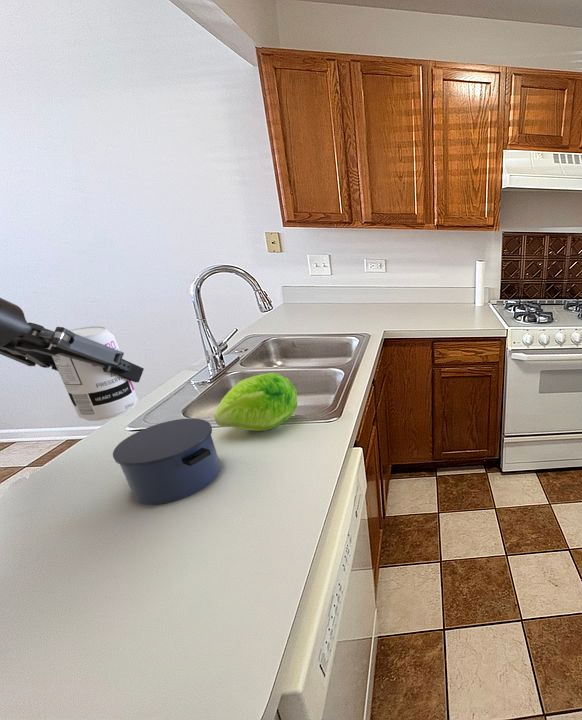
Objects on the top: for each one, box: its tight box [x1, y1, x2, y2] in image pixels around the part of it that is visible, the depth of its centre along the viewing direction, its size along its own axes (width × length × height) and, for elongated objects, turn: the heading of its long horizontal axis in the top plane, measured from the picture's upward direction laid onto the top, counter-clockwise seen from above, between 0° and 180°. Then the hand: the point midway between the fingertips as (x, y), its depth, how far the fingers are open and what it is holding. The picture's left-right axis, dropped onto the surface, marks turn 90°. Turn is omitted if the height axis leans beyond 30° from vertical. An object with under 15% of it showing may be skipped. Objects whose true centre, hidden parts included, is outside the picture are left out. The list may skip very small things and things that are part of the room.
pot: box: [112, 417, 222, 506], centre depth 87 cm, size 20×17×11 cm
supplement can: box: [47, 325, 139, 422], centre depth 69 cm, size 8×8×15 cm
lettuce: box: [213, 372, 298, 432], centre depth 107 cm, size 17×20×15 cm
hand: (115, 375), depth 73 cm, fingers closed on supplement can, 8 cm apart
